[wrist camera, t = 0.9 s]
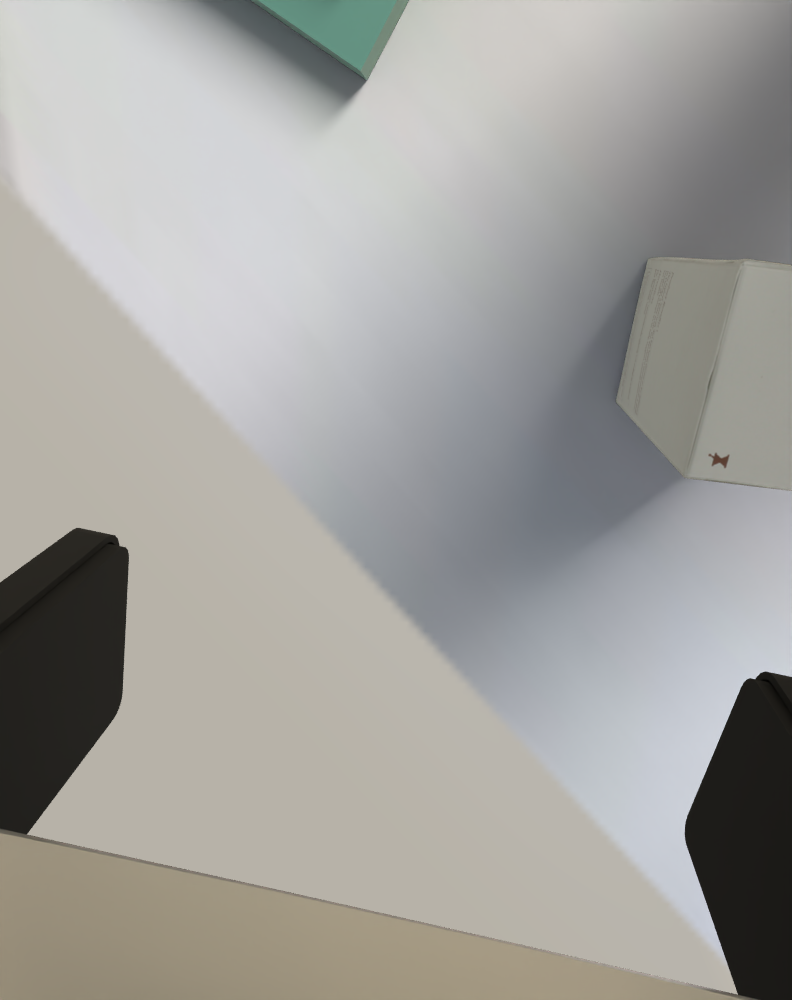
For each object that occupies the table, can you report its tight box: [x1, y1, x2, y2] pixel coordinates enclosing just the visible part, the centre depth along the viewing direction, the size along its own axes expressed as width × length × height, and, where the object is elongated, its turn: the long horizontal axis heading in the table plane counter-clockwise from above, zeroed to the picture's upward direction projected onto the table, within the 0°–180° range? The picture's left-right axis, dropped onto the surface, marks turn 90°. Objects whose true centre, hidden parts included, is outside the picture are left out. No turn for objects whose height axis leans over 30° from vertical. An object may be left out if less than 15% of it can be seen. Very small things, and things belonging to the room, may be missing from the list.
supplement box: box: [616, 257, 792, 491], centre depth 29 cm, size 7×7×13 cm
